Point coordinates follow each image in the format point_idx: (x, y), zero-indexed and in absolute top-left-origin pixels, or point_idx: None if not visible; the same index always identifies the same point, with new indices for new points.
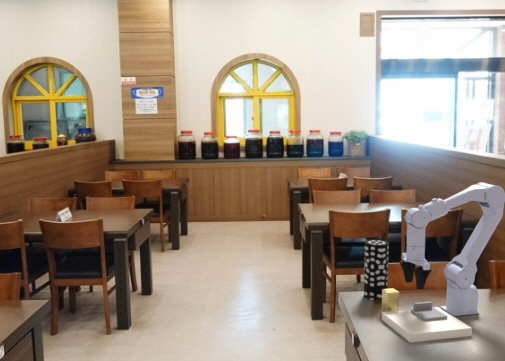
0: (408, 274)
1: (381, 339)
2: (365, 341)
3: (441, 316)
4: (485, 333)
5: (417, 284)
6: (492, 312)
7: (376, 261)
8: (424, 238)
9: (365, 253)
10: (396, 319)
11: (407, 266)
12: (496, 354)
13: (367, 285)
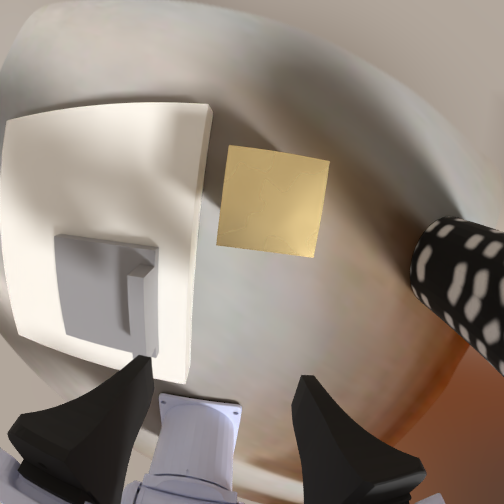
0: (310, 429)
1: (72, 45)
2: (87, 3)
3: (63, 314)
4: (47, 363)
5: (120, 371)
6: None
7: None
8: None
9: None
10: (104, 127)
11: (330, 481)
12: None
13: (482, 228)
